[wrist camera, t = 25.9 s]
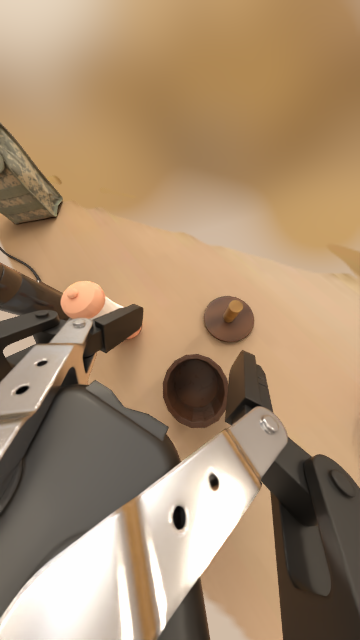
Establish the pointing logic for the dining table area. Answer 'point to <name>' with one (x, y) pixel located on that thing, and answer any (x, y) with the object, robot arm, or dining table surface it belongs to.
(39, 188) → the lunch bag
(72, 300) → the pepper shaker
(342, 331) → the dining table surface
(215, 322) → the lid
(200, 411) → the tin
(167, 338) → the dining table surface
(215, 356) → the dining table surface
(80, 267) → the dining table surface
